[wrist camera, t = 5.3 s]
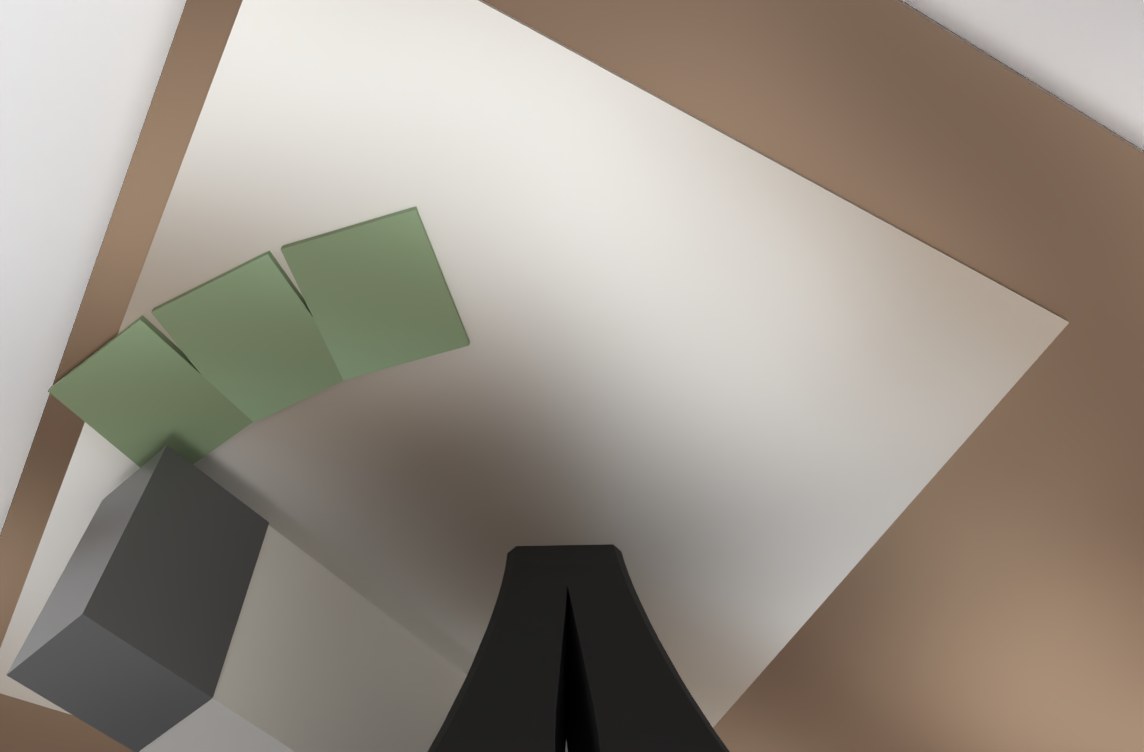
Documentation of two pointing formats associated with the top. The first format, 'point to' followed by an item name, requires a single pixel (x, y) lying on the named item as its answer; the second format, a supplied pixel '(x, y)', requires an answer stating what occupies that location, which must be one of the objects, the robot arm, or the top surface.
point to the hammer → (223, 634)
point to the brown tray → (641, 349)
